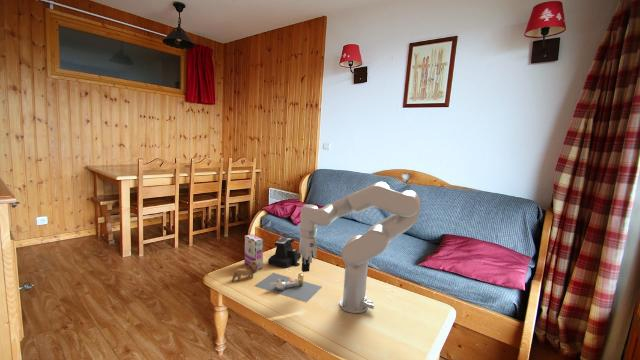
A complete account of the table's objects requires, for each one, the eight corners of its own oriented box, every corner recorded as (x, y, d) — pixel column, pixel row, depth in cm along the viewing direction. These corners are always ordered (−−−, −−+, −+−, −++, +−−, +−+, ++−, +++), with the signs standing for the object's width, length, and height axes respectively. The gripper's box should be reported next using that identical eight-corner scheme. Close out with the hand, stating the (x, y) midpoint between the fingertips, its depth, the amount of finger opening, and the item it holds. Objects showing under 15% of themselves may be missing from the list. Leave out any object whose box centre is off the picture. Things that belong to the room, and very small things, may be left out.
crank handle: (271, 293, 142) (271, 282, 141) (267, 286, 148) (267, 276, 147) (305, 287, 149) (305, 277, 148) (300, 281, 154) (301, 271, 153)
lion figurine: (255, 274, 162) (255, 258, 161) (260, 278, 158) (260, 261, 157) (228, 282, 153) (228, 265, 151) (233, 287, 149) (233, 269, 147)
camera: (282, 233, 188) (304, 235, 181) (283, 256, 189) (305, 259, 183) (267, 241, 174) (290, 244, 167) (268, 266, 175) (291, 270, 169)
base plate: (322, 289, 151) (322, 286, 151) (306, 304, 137) (306, 302, 136) (273, 274, 163) (273, 272, 163) (254, 288, 149) (254, 285, 148)
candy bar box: (263, 268, 170) (263, 239, 167) (255, 271, 166) (255, 241, 164) (251, 261, 177) (252, 233, 175) (243, 263, 174) (244, 235, 171)
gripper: (322, 237, 135) (319, 277, 138) (309, 226, 148) (306, 263, 151) (306, 239, 132) (303, 279, 135) (294, 227, 145) (292, 264, 148)
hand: (305, 270), depth 143 cm, fingers closed
